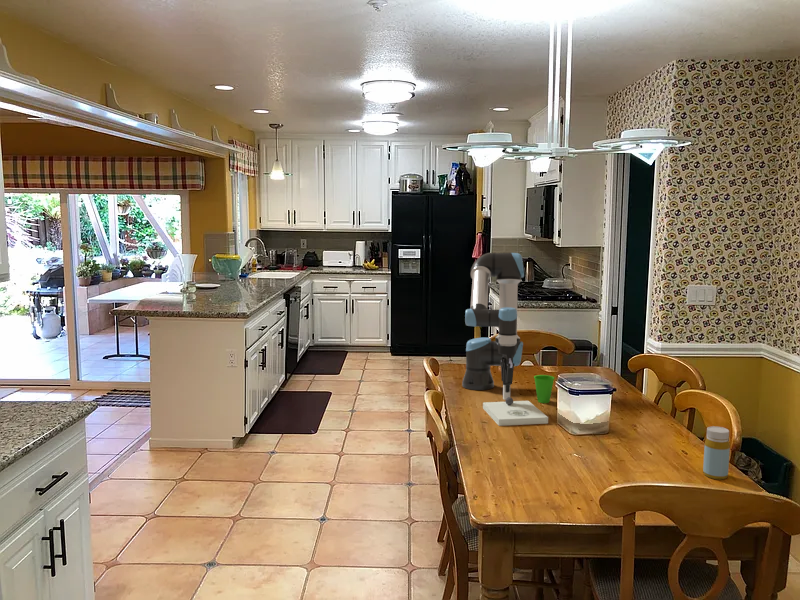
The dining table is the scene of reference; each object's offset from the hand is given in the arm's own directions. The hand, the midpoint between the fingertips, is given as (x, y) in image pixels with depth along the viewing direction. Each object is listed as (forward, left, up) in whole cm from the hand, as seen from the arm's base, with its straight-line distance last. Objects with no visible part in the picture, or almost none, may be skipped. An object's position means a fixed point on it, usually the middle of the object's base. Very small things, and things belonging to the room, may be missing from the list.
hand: (506, 399), depth 277 cm
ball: (+4, 0, 0) cm, 4 cm away
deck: (+11, 0, -4) cm, 11 cm away
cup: (-7, +19, -4) cm, 21 cm away
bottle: (+81, +43, -4) cm, 91 cm away
